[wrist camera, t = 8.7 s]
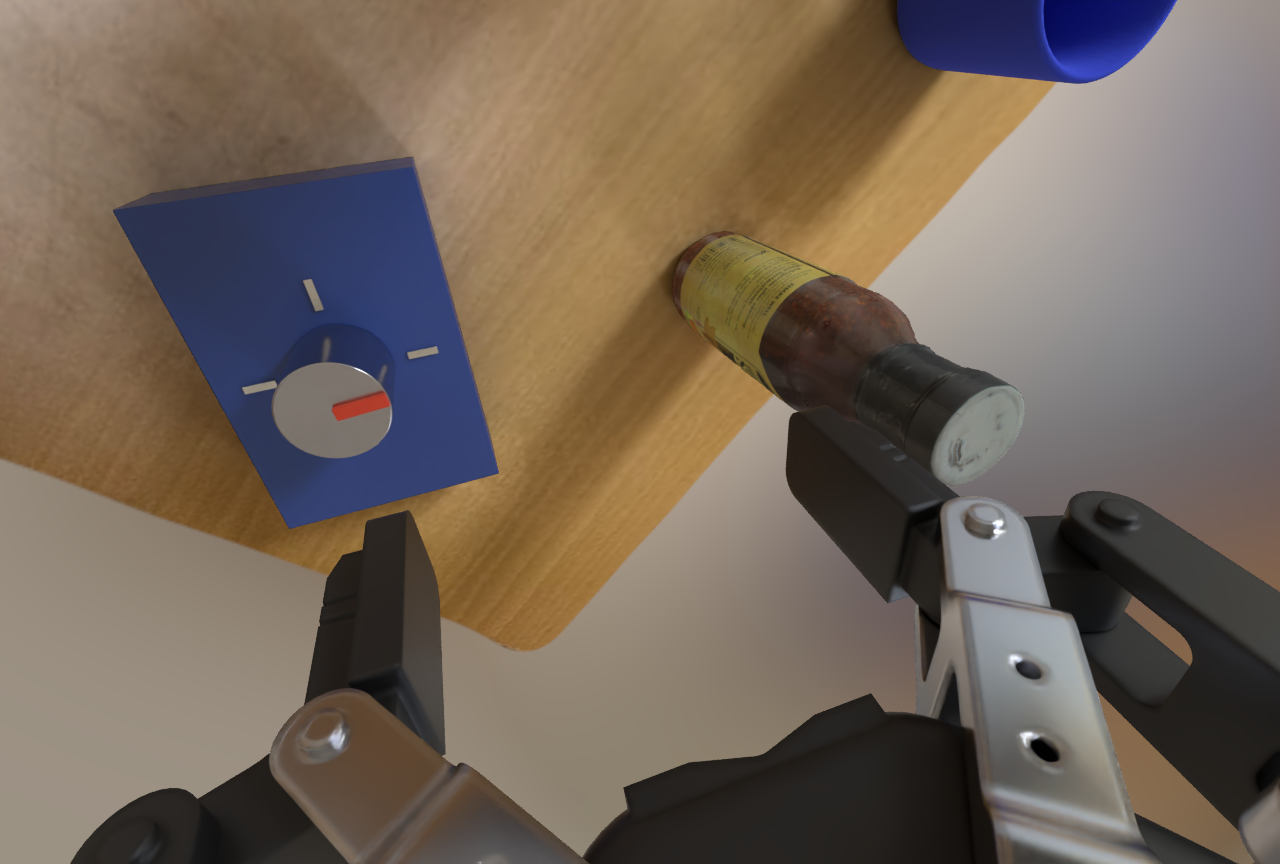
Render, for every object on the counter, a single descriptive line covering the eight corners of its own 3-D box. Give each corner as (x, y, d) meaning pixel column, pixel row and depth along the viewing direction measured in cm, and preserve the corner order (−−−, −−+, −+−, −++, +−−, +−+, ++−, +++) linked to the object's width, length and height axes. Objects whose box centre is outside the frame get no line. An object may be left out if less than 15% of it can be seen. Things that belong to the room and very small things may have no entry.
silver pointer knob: (316, 421, 28) (301, 476, 24) (271, 338, 26) (246, 384, 22) (408, 395, 29) (408, 443, 25) (372, 312, 27) (366, 352, 23)
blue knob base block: (149, 193, 25) (109, 210, 22) (413, 156, 28) (413, 166, 24) (300, 486, 34) (288, 531, 30) (491, 438, 36) (499, 475, 33)
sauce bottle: (658, 325, 36) (860, 522, 20) (679, 220, 33) (933, 351, 17) (750, 331, 39) (997, 511, 22) (776, 233, 36) (1081, 359, 20)
